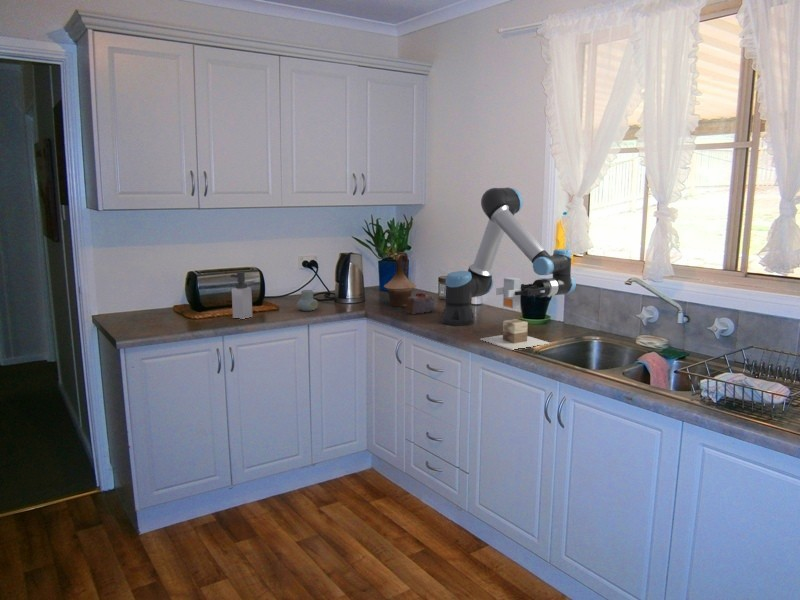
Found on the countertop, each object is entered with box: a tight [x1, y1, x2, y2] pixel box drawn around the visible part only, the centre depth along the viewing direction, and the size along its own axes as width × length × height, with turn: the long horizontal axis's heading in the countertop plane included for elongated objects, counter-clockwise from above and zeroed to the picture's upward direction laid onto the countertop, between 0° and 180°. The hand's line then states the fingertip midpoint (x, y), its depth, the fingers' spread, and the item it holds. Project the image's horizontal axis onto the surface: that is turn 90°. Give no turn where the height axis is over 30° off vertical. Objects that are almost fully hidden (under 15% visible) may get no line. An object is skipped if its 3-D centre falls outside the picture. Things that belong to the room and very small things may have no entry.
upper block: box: [502, 318, 529, 334], centre depth 261 cm, size 7×7×4 cm
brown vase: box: [383, 251, 417, 307], centre depth 337 cm, size 18×17×28 cm
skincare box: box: [502, 277, 522, 310], centre depth 260 cm, size 6×4×12 cm
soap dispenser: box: [230, 271, 253, 320], centre depth 305 cm, size 6×9×22 cm
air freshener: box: [296, 289, 319, 312], centre depth 325 cm, size 11×8×10 cm
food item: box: [405, 292, 435, 315], centre depth 320 cm, size 14×8×10 cm, turn 129°
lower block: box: [502, 330, 528, 343], centre depth 262 cm, size 7×7×4 cm
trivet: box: [480, 334, 550, 351], centre depth 262 cm, size 20×20×1 cm
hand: (502, 292), depth 258 cm, fingers closed on skincare box, 6 cm apart
